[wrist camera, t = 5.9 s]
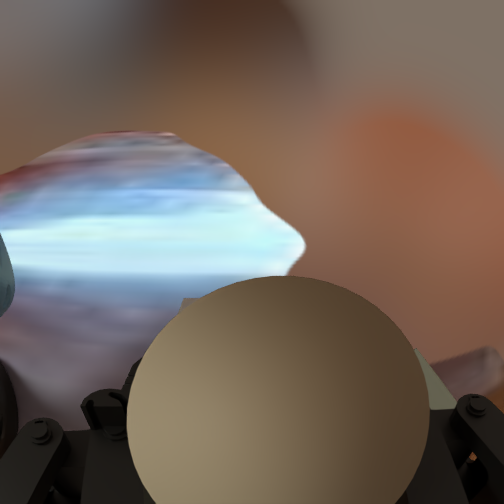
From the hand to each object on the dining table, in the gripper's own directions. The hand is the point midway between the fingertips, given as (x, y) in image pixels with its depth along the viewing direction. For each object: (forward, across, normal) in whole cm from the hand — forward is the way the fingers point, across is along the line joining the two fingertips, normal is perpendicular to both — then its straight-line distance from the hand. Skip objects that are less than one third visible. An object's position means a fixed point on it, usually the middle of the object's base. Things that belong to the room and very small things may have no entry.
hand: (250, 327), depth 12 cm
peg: (0, 0, -5) cm, 5 cm away
